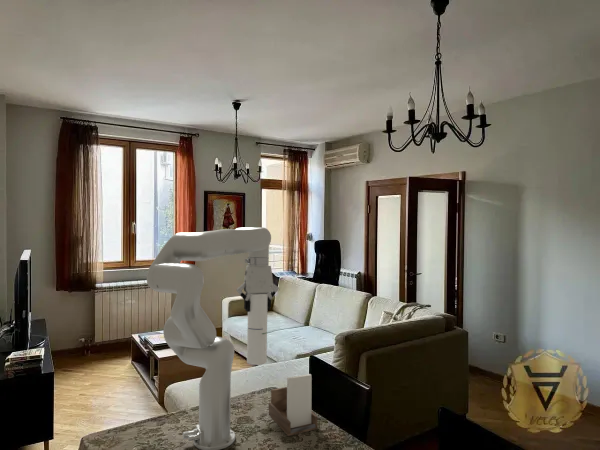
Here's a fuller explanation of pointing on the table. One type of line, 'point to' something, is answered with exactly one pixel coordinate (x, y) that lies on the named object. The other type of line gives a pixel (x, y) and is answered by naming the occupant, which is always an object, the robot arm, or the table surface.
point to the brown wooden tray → (280, 413)
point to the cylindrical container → (257, 329)
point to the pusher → (299, 400)
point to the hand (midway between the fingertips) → (257, 310)
